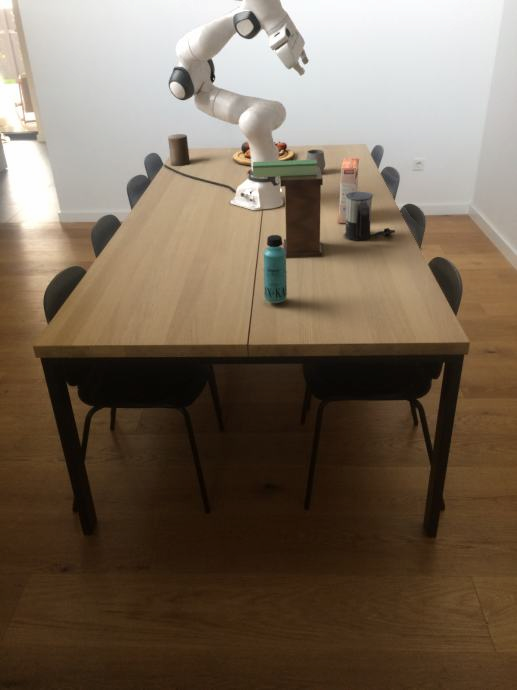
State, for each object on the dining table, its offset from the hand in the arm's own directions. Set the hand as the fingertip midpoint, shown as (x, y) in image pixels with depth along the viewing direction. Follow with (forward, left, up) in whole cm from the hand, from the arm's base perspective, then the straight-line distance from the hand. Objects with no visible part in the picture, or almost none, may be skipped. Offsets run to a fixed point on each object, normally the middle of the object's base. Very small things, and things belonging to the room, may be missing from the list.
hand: (304, 68), depth 196 cm
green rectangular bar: (+10, -32, -26) cm, 42 cm away
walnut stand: (+15, -29, -52) cm, 62 cm away
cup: (-25, +55, -53) cm, 80 cm away
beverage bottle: (+27, -65, -53) cm, 88 cm away
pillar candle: (-97, +42, -53) cm, 118 cm away
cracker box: (+15, +7, -53) cm, 55 cm away
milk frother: (+30, -7, -53) cm, 61 cm away
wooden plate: (-62, +67, -53) cm, 105 cm away
